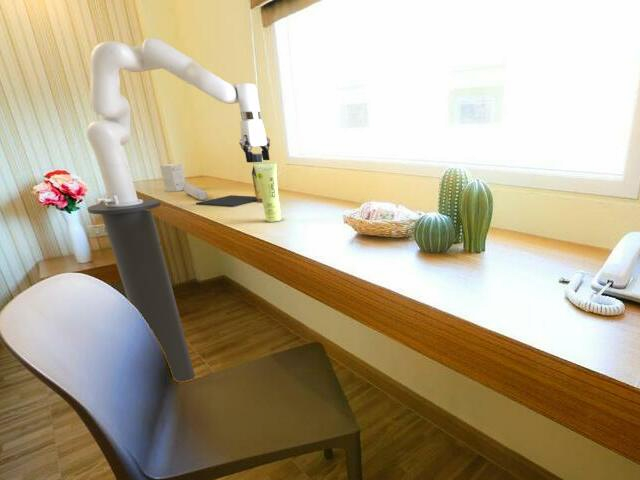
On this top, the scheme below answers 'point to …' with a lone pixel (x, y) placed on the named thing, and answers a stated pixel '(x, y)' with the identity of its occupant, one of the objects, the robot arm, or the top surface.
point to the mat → (229, 201)
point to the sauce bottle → (257, 158)
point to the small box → (173, 177)
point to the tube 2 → (268, 189)
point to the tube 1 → (194, 192)
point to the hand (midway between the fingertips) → (258, 161)
